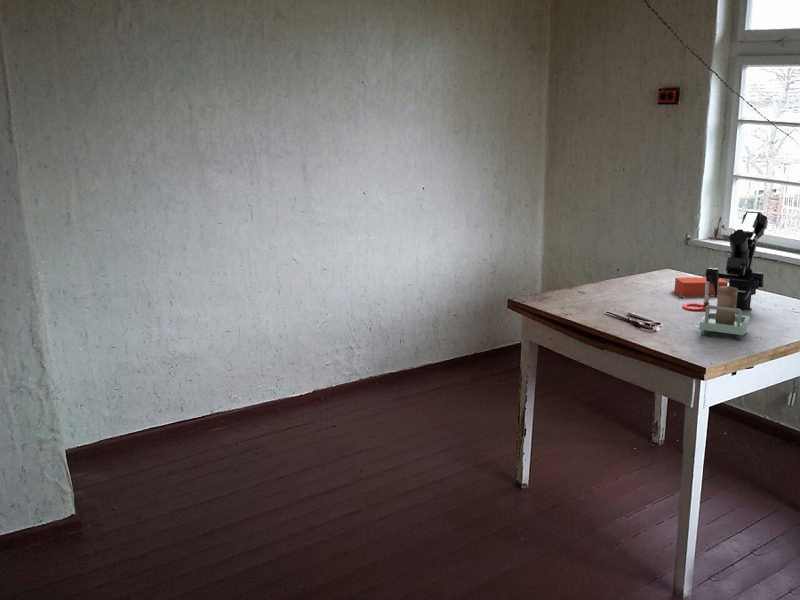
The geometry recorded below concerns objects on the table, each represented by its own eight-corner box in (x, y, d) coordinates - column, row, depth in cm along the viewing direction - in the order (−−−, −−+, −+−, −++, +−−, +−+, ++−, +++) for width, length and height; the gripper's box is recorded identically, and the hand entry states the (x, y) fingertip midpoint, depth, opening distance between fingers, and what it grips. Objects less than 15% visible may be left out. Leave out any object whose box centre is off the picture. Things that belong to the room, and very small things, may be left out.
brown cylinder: (723, 320, 263) (726, 285, 260) (738, 324, 258) (741, 289, 255) (711, 322, 261) (714, 287, 257) (726, 327, 256) (729, 291, 252)
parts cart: (705, 324, 270) (708, 294, 267) (748, 330, 263) (751, 299, 260) (698, 335, 258) (701, 304, 255) (743, 341, 251) (746, 310, 248)
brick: (682, 297, 305) (683, 283, 303) (674, 291, 314) (675, 277, 312) (726, 296, 305) (728, 281, 303) (717, 290, 314) (718, 276, 312)
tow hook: (684, 311, 287) (710, 311, 285) (685, 278, 283) (711, 278, 281) (681, 305, 295) (706, 305, 292) (682, 273, 291) (707, 273, 289)
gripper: (708, 245, 267) (699, 283, 261) (766, 250, 258) (758, 289, 252) (710, 262, 276) (702, 299, 270) (767, 267, 266) (759, 305, 260)
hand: (730, 298), depth 263 cm, fingers open, 9 cm apart
